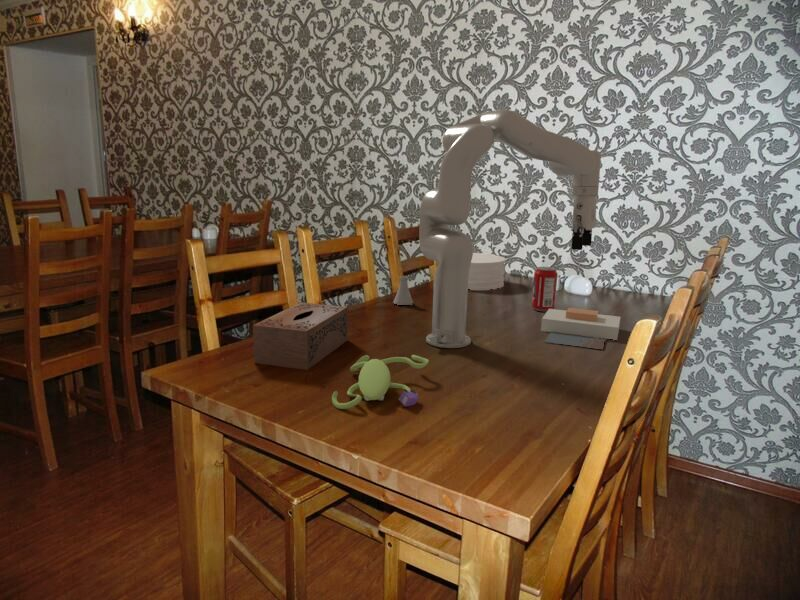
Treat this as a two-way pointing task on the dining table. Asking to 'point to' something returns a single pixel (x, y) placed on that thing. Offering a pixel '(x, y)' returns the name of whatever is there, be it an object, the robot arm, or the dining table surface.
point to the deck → (581, 325)
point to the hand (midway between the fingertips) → (581, 247)
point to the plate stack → (486, 272)
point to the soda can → (544, 289)
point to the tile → (582, 314)
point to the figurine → (379, 381)
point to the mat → (569, 339)
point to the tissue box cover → (300, 335)
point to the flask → (403, 293)
